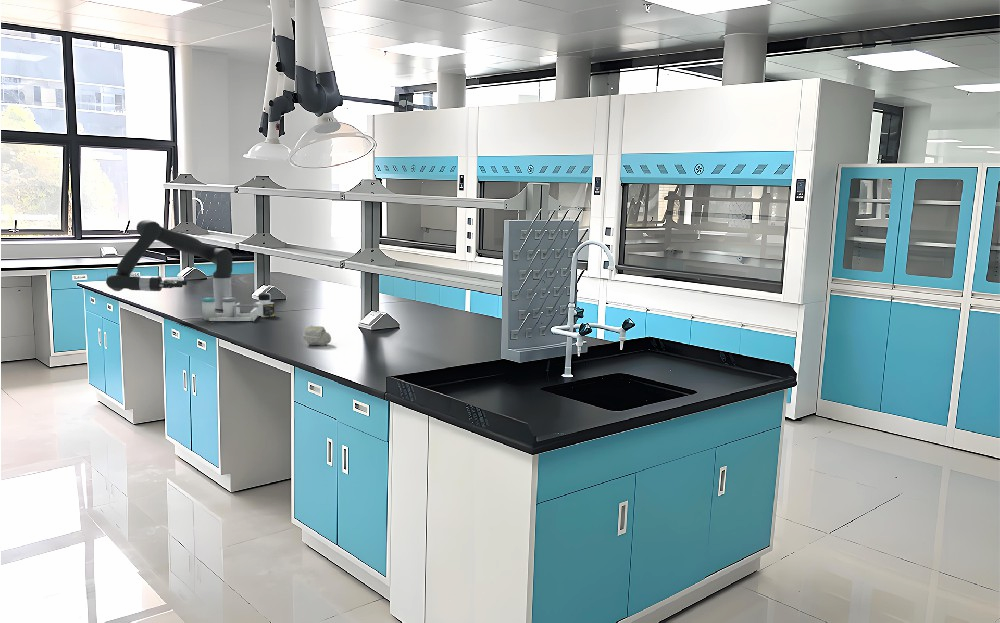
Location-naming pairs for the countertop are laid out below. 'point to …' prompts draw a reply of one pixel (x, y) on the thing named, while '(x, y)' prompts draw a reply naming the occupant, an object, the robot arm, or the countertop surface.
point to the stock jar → (228, 306)
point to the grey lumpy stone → (316, 335)
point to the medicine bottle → (265, 305)
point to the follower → (237, 308)
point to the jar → (208, 307)
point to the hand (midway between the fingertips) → (184, 284)
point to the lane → (243, 317)
